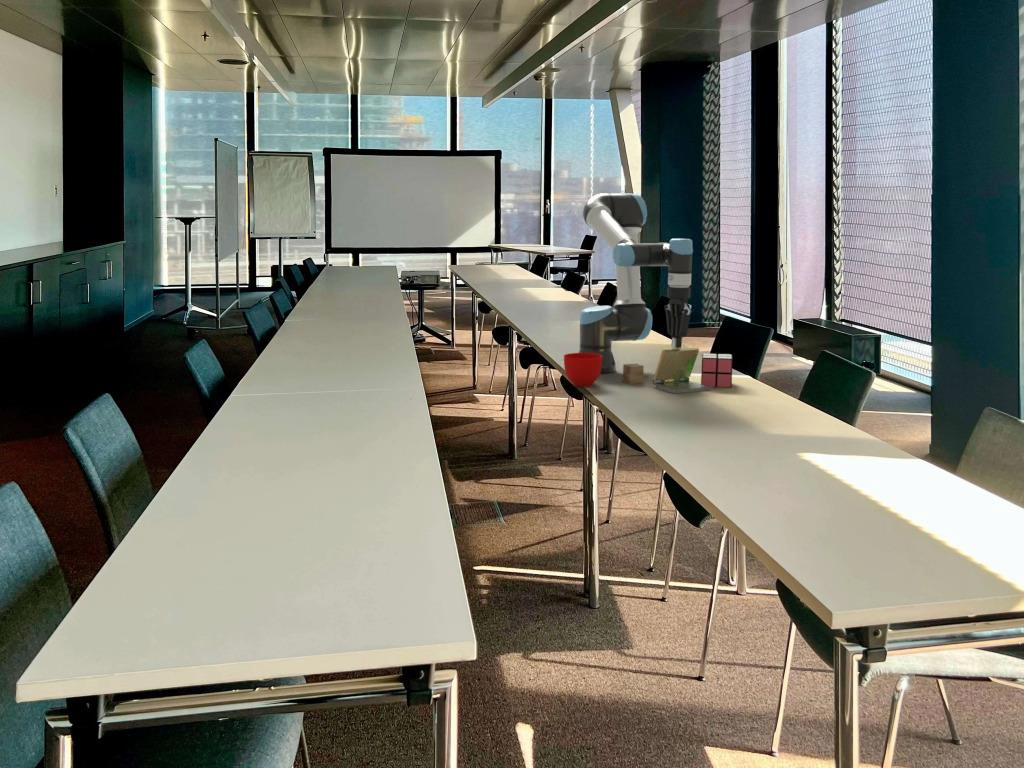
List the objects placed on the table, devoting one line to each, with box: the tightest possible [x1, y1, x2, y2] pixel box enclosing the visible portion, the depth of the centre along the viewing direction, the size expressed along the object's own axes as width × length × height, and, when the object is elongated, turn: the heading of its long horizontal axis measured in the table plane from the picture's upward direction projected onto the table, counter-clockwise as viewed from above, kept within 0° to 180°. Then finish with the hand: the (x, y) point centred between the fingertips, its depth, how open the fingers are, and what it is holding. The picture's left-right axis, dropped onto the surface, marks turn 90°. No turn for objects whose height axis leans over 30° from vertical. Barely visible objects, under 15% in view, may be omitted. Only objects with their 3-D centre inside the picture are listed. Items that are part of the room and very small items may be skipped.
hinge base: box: [651, 377, 711, 395], centre depth 319 cm, size 14×13×3 cm
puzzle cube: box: [700, 353, 733, 389], centre depth 325 cm, size 10×10×10 cm
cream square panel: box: [653, 347, 700, 383], centre depth 320 cm, size 14×13×2 cm
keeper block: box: [622, 363, 645, 385], centre depth 330 cm, size 5×5×6 cm
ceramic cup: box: [563, 352, 602, 388], centre depth 326 cm, size 13×17×10 cm
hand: (675, 356), depth 320 cm, fingers closed
